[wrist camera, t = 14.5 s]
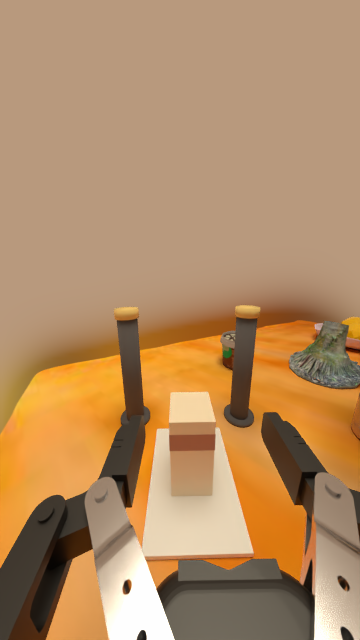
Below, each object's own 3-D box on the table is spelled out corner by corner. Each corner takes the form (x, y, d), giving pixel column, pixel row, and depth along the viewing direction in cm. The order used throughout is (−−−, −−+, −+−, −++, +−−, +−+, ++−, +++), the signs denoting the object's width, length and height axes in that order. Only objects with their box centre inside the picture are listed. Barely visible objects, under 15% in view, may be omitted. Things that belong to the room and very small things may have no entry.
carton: (206, 454, 29) (208, 391, 26) (212, 495, 24) (216, 422, 21) (172, 455, 29) (170, 392, 26) (171, 496, 24) (168, 423, 21)
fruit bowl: (298, 337, 84) (302, 314, 81) (336, 331, 92) (341, 310, 89) (378, 365, 58) (388, 332, 55) (421, 353, 66) (431, 324, 64)
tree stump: (273, 368, 58) (285, 314, 57) (302, 366, 69) (313, 320, 67) (346, 397, 43) (365, 324, 41) (369, 389, 53) (385, 330, 52)
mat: (219, 430, 34) (219, 427, 34) (253, 556, 19) (253, 553, 19) (157, 431, 34) (157, 428, 34) (141, 560, 19) (140, 556, 19)
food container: (221, 354, 67) (222, 329, 65) (238, 356, 65) (240, 330, 63) (217, 370, 56) (218, 340, 54) (237, 373, 54) (239, 342, 52)
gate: (247, 405, 41) (256, 304, 35) (258, 427, 35) (272, 310, 29) (125, 407, 41) (115, 306, 35) (117, 430, 35) (102, 312, 29)
